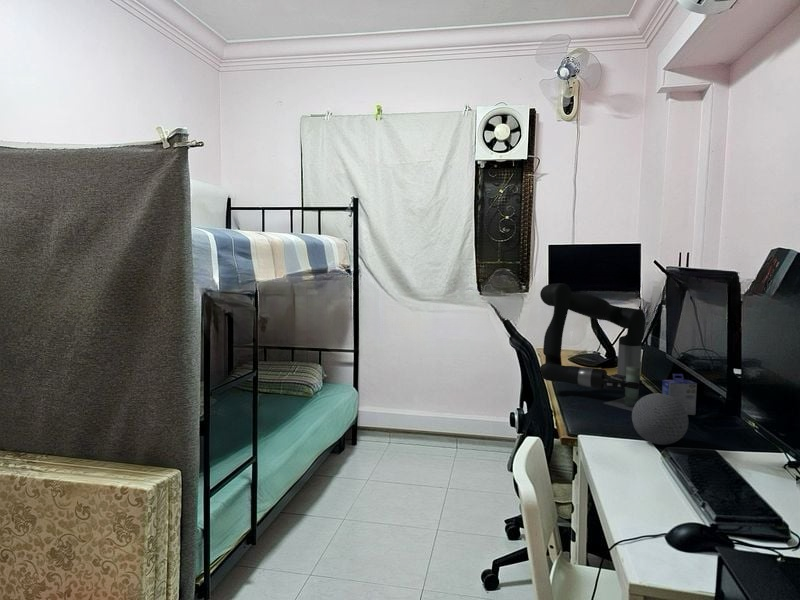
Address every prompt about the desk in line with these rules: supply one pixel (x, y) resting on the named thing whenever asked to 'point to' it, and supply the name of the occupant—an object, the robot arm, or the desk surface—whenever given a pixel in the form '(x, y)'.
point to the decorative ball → (660, 419)
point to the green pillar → (631, 393)
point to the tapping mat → (620, 404)
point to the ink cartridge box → (681, 392)
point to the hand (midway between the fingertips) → (640, 384)
